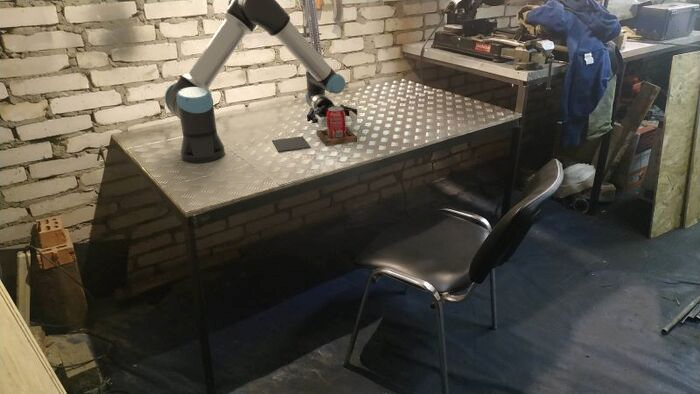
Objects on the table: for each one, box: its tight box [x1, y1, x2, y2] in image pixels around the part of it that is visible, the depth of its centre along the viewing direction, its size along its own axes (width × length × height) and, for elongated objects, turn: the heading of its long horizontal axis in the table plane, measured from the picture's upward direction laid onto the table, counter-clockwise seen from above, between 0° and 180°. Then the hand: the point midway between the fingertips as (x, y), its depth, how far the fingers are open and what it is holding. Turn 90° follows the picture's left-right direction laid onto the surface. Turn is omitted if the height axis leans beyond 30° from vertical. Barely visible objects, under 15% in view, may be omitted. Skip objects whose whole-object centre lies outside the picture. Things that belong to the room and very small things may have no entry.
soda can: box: [326, 105, 347, 139], centre depth 196 cm, size 7×7×12 cm
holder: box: [316, 126, 358, 147], centre depth 198 cm, size 12×12×2 cm
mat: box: [271, 136, 311, 153], centre depth 194 cm, size 12×12×1 cm
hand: (338, 121), depth 193 cm, fingers open, 13 cm apart
